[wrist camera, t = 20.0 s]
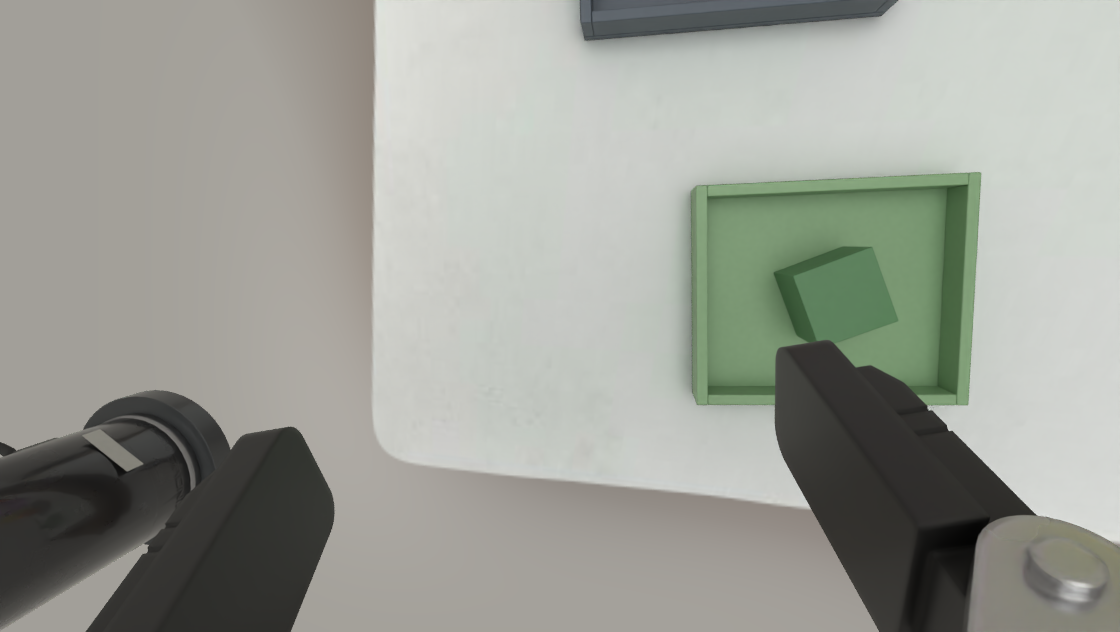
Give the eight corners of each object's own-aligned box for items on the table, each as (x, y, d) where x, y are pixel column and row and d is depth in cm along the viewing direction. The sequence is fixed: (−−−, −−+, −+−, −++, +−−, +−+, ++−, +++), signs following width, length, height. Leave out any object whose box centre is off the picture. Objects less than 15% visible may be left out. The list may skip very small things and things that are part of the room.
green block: (796, 336, 32) (819, 349, 29) (773, 272, 32) (792, 276, 28) (866, 311, 32) (899, 321, 28) (842, 246, 32) (872, 246, 28)
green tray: (692, 393, 34) (696, 404, 32) (691, 190, 33) (695, 185, 30) (942, 392, 32) (968, 405, 30) (952, 177, 31) (981, 172, 28)
